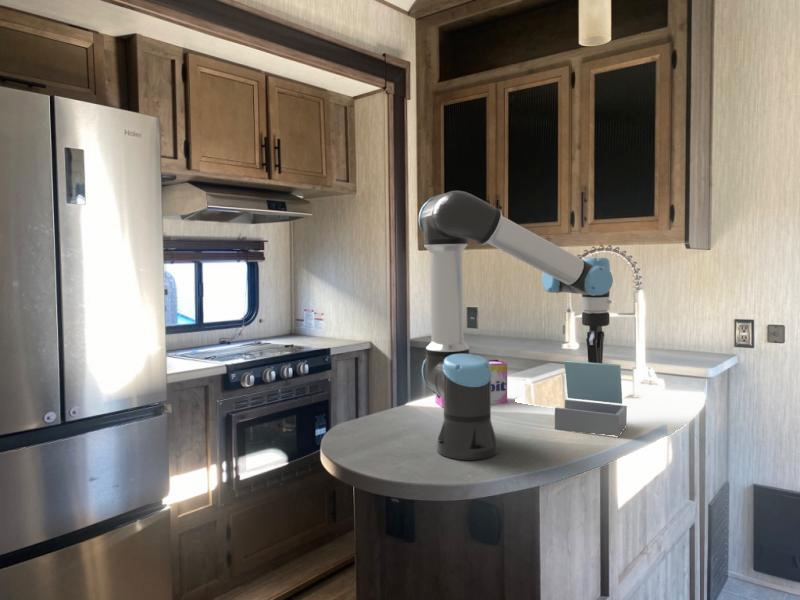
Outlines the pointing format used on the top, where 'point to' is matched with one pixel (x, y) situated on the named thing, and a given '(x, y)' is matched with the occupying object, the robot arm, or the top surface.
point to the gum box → (492, 383)
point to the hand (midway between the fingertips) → (595, 392)
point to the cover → (593, 381)
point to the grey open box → (591, 417)
